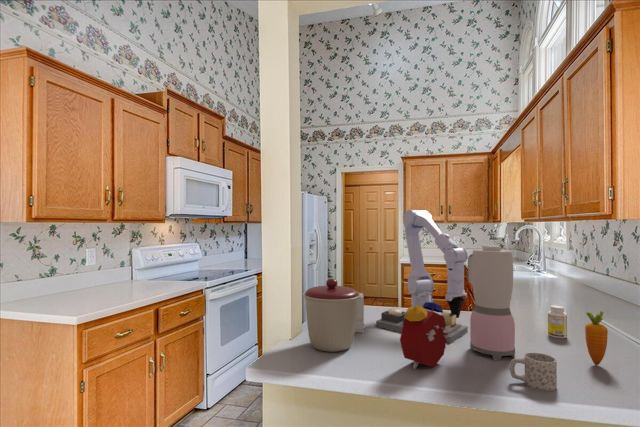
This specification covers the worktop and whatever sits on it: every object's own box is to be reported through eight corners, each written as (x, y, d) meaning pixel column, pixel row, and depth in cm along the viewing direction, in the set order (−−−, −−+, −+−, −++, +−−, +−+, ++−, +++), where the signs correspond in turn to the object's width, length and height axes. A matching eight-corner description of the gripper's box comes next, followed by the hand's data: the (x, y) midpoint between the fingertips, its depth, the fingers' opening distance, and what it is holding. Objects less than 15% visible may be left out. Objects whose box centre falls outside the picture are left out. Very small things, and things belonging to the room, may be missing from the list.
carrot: (583, 365, 101) (583, 310, 101) (587, 360, 104) (586, 307, 104) (606, 370, 97) (605, 314, 97) (609, 365, 101) (608, 310, 101)
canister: (295, 340, 119) (296, 275, 120) (346, 335, 125) (346, 273, 126) (312, 360, 102) (313, 285, 103) (370, 353, 108) (371, 282, 109)
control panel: (396, 317, 148) (396, 306, 148) (467, 331, 130) (467, 319, 130) (376, 326, 136) (376, 314, 136) (450, 343, 118) (450, 329, 118)
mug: (550, 380, 91) (550, 354, 91) (561, 393, 84) (561, 364, 84) (506, 376, 93) (506, 350, 93) (513, 387, 87) (513, 359, 87)
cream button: (392, 313, 142) (392, 307, 142) (404, 315, 139) (404, 310, 139) (385, 315, 138) (385, 310, 138) (397, 317, 135) (397, 312, 135)
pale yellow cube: (445, 323, 132) (445, 312, 132) (456, 325, 130) (456, 314, 130) (440, 325, 129) (440, 314, 129) (451, 328, 127) (451, 316, 127)
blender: (525, 357, 106) (525, 247, 107) (493, 362, 102) (493, 248, 102) (483, 340, 121) (483, 243, 122) (453, 344, 117) (453, 244, 117)
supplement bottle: (556, 333, 129) (556, 304, 130) (571, 338, 124) (571, 308, 124) (543, 334, 128) (543, 305, 128) (557, 339, 123) (557, 308, 123)
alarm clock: (428, 354, 108) (428, 286, 108) (456, 362, 102) (456, 290, 102) (399, 367, 98) (399, 292, 98) (428, 378, 92) (428, 298, 92)
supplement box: (363, 327, 135) (363, 292, 135) (363, 333, 128) (364, 296, 128) (343, 326, 136) (343, 292, 136) (342, 332, 128) (342, 296, 129)
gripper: (459, 284, 127) (459, 323, 127) (473, 279, 138) (473, 315, 138) (439, 281, 131) (439, 319, 131) (454, 277, 143) (454, 312, 142)
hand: (455, 317), depth 135 cm, fingers closed
